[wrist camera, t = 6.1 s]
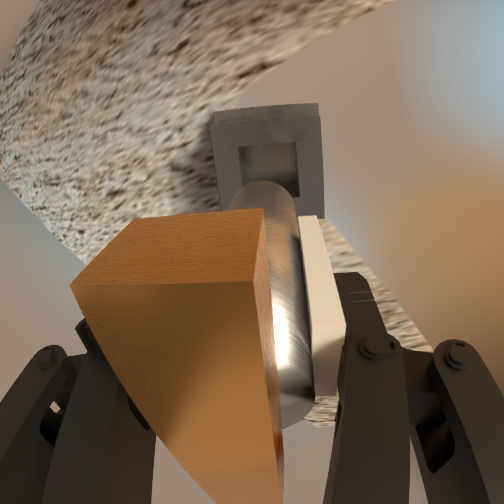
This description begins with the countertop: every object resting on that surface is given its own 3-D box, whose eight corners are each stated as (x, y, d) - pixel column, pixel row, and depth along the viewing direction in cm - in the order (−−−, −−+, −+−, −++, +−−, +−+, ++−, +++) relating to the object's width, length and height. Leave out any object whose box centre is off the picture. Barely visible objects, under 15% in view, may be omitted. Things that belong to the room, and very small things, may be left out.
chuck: (216, 111, 28) (201, 114, 23) (315, 103, 27) (325, 103, 21) (230, 210, 34) (220, 235, 28) (321, 204, 32) (330, 228, 27)
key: (220, 134, 15) (27, 284, 3) (289, 128, 15) (346, 275, 2) (241, 280, 19) (197, 504, 7) (298, 277, 19) (307, 509, 7)
